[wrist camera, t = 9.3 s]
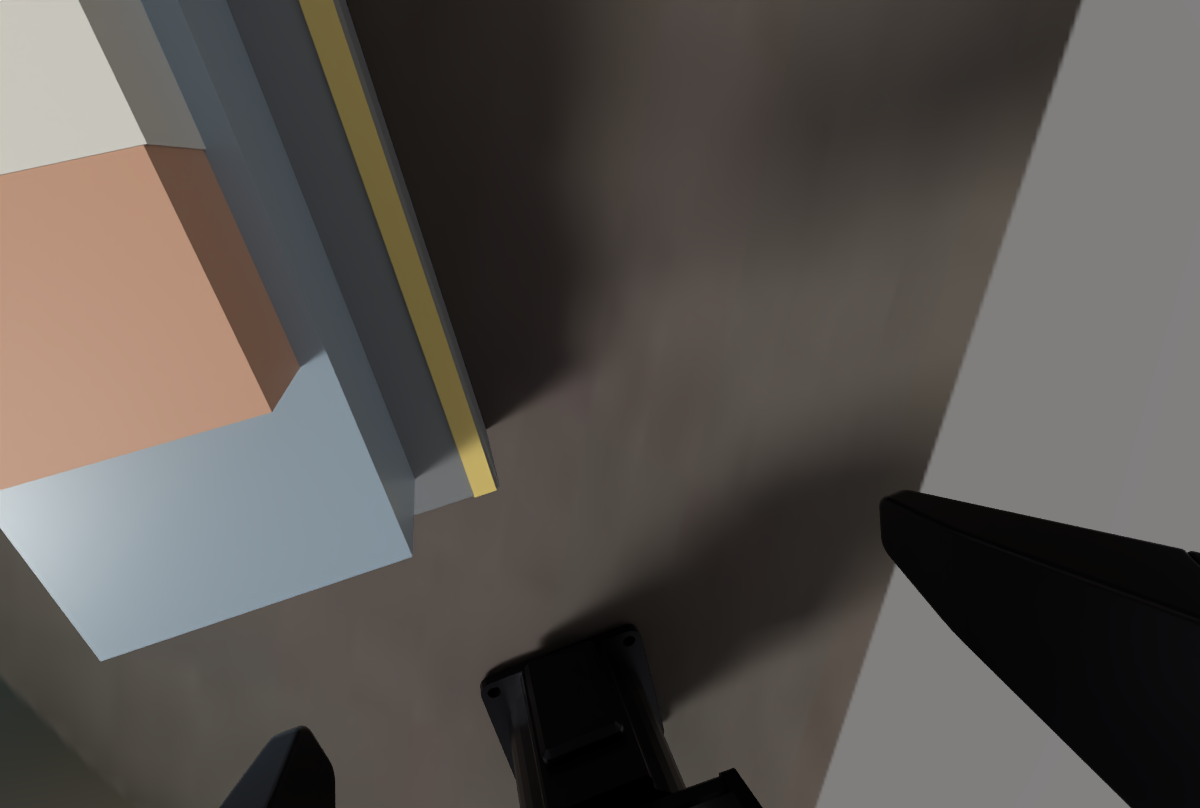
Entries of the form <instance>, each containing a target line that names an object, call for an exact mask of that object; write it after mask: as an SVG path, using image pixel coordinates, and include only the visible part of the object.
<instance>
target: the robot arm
mask: <svg viewBox="0 0 1200 808" xmlns="http://www.w3.org/2000/svg"><path fill="white" fill-rule="evenodd" d="M879 510H880V525H881V539H882V543H883V546H884V548H885V550H886V552H887V554H888V555H889V556H890V557H891V559H892V560H893V561H894V562H895V563H896V565H897V566H898V567H899V568H900V569H901V571H902V572H903V573H904V574H905V575H906V577H907V578H908V579H909V580H910V581H911V583H912V584H913V585H914V586H915V587H916V589H917V590H918V591H919V592H920V593H921V594H922V596H923V597H924V598H925V599H926V601H927V602H928V603H929V604H930V605H931V607H932V608H933V609H934V610H935V611H936V612H937V614H938V615H939V616H940V617H941V619H942V620H943V621H944V622H945V623H946V624H947V625H948V626H949V627H950V629H951V630H952V631H953V632H954V633H955V634H956V635H957V636H958V637H959V638H960V639H961V640H962V641H963V642H964V643H965V644H966V645H967V646H968V647H969V648H970V649H971V650H972V651H973V652H974V653H975V654H976V655H977V656H978V657H979V658H980V659H981V660H982V661H983V662H984V663H985V664H986V665H987V666H988V667H989V668H990V669H991V670H992V671H993V672H994V673H995V674H996V675H997V676H998V677H999V678H1000V679H1001V680H1002V681H1003V682H1004V683H1005V684H1006V685H1007V686H1008V687H1009V688H1010V689H1011V690H1012V691H1013V692H1014V693H1015V694H1016V695H1017V696H1018V697H1019V698H1020V699H1021V700H1023V702H1024V703H1025V704H1026V705H1027V706H1029V708H1030V709H1031V710H1033V712H1034V713H1035V714H1037V715H1038V716H1039V717H1040V718H1041V719H1042V720H1043V721H1044V722H1045V723H1046V724H1047V725H1048V726H1049V727H1050V728H1051V729H1052V730H1053V731H1054V732H1055V733H1056V734H1057V735H1058V736H1059V737H1060V738H1061V739H1062V740H1063V741H1064V742H1065V743H1066V744H1067V745H1068V746H1069V747H1070V748H1071V749H1072V750H1073V751H1074V752H1075V753H1076V754H1077V755H1078V756H1079V757H1080V758H1081V759H1082V760H1083V761H1084V762H1085V763H1086V764H1087V765H1088V766H1089V767H1090V768H1091V769H1092V770H1093V771H1094V772H1095V773H1096V774H1097V775H1098V776H1099V777H1100V778H1101V779H1102V780H1103V781H1104V782H1105V783H1107V784H1108V785H1109V787H1111V789H1112V790H1113V791H1114V792H1116V793H1117V794H1118V795H1119V796H1120V797H1121V798H1122V799H1123V800H1124V801H1125V802H1126V803H1127V804H1128V805H1129V806H1130V807H1131V808H1200V553H1199V552H1194V551H1190V552H1188V553H1187V552H1186V551H1185V550H1183V549H1180V548H1175V547H1170V546H1166V545H1161V544H1156V543H1152V542H1147V541H1142V540H1138V539H1133V538H1129V537H1124V536H1119V535H1115V534H1110V533H1105V532H1101V531H1096V530H1092V529H1086V528H1082V527H1078V526H1073V525H1068V524H1064V523H1059V522H1054V521H1050V520H1045V519H1041V518H1035V517H1031V516H1026V515H1022V514H1017V513H1013V512H1007V511H1003V510H999V509H994V508H989V507H984V506H980V505H975V504H971V503H966V502H961V501H957V500H952V499H948V498H943V497H938V496H934V495H929V494H924V493H920V492H915V491H911V490H901V491H898V492H896V493H893V494H890V495H888V496H885V497H884V498H882V499H881V501H880V504H879ZM628 636H631V637H630V638H628V639H625V638H626V637H628ZM494 687H497V688H496V689H494V690H490V689H491V688H494ZM480 688H481V697H482V700H483V702H484V704H485V707H486V709H487V712H488V714H489V716H490V719H491V721H492V724H493V726H494V728H495V731H496V733H497V736H498V738H499V741H500V743H501V745H502V748H503V750H504V753H505V755H506V757H507V760H508V762H509V765H510V767H511V769H512V772H513V774H514V777H515V779H516V783H517V790H518V797H519V803H520V808H762V806H761V805H760V803H759V802H758V801H757V799H756V798H755V796H754V795H753V793H752V792H751V791H750V789H749V788H748V786H747V785H746V784H745V782H744V781H743V779H742V778H741V776H740V775H739V774H738V772H737V771H736V769H735V768H732V769H729V770H726V771H723V772H721V773H719V777H716V778H713V779H710V780H707V781H705V782H702V783H699V784H696V785H694V786H691V787H688V788H686V786H685V784H684V782H683V779H682V777H681V775H680V772H679V770H678V768H677V765H676V763H675V760H674V758H673V756H672V753H671V751H670V749H669V746H668V744H667V742H666V739H665V737H664V728H663V724H662V720H661V716H660V712H659V708H658V704H657V700H656V696H655V692H654V688H653V684H652V680H651V676H650V672H649V668H648V664H647V660H646V655H645V651H644V647H643V643H642V639H641V636H640V634H639V632H638V630H637V628H636V626H634V625H632V624H626V625H622V626H620V627H617V628H614V629H612V630H609V631H606V632H604V633H601V634H598V635H596V636H593V637H590V638H588V639H585V640H582V641H580V642H577V643H574V644H572V645H569V646H566V647H564V648H561V649H558V650H556V651H553V652H550V653H548V654H545V655H542V656H540V657H537V658H534V659H532V660H529V661H527V662H524V663H521V664H519V665H516V666H513V667H511V668H508V669H505V670H503V671H500V672H497V673H495V674H492V675H489V676H488V677H486V678H485V679H484V680H483V681H482V682H481V685H480ZM219 808H335V776H334V771H333V767H332V765H331V762H330V761H329V759H328V757H327V756H326V754H325V753H324V751H323V749H322V748H321V746H320V745H319V743H318V741H317V740H316V738H315V737H314V735H313V733H312V732H311V731H310V729H309V728H307V727H306V726H298V727H295V728H293V729H290V730H287V731H285V732H282V733H280V734H277V735H276V736H274V737H273V738H271V740H270V741H269V742H268V743H267V744H266V746H265V747H264V748H263V750H262V751H261V752H260V754H259V755H258V756H257V758H256V759H255V760H254V762H253V763H252V764H251V766H250V767H249V768H248V770H247V771H246V772H245V774H244V775H243V777H242V778H241V779H240V781H239V782H238V783H237V785H236V786H235V787H234V789H233V790H232V791H231V793H230V794H229V795H228V797H227V798H226V799H225V801H224V802H223V803H222V805H221V806H220V807H219Z"/></svg>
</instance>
